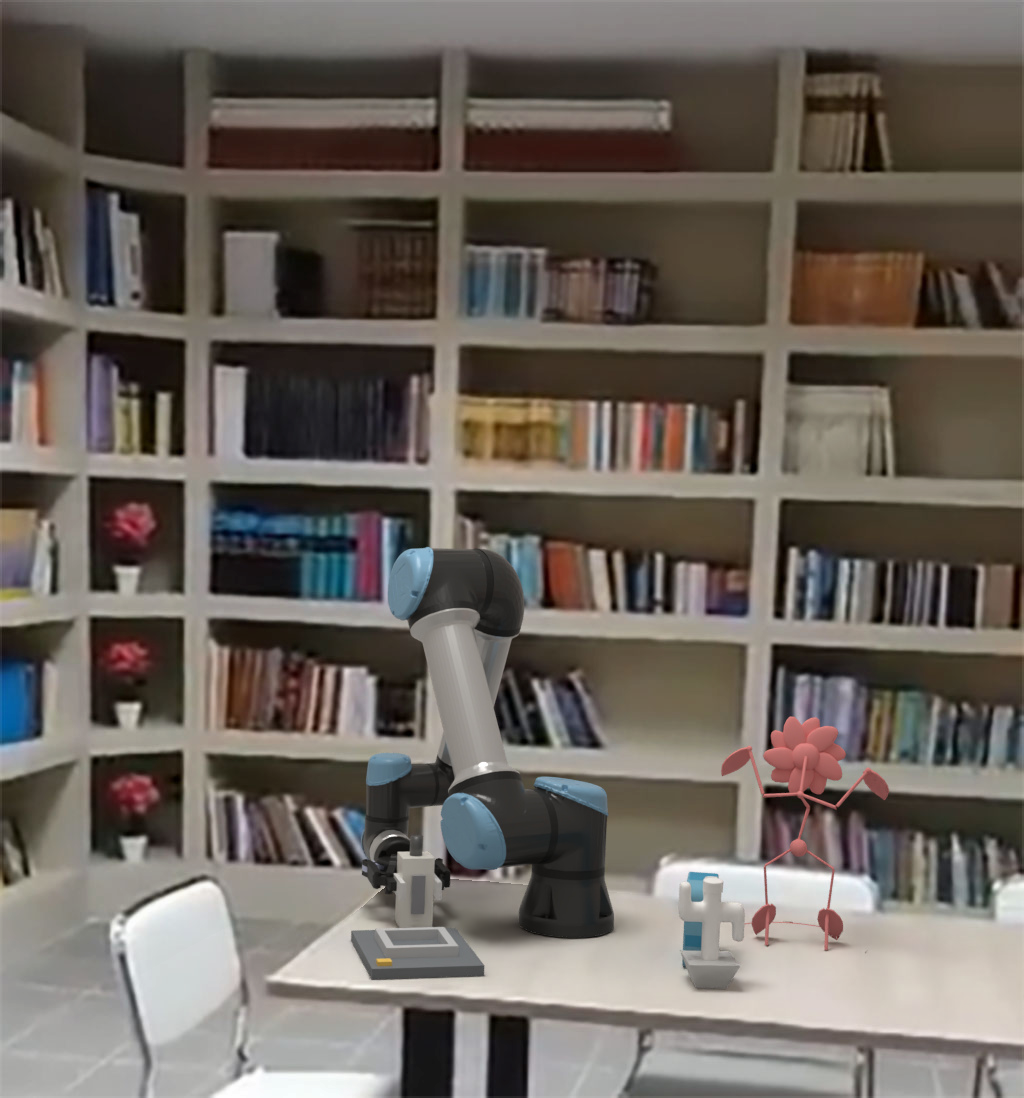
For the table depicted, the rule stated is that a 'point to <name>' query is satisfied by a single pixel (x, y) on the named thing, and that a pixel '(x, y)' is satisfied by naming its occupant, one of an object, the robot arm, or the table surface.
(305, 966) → the table surface
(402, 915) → the plug
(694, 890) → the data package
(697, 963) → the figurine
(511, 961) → the table surface
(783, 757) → the pink flower stick figure
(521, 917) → the robot arm
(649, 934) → the table surface
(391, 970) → the dock
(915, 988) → the table surface
